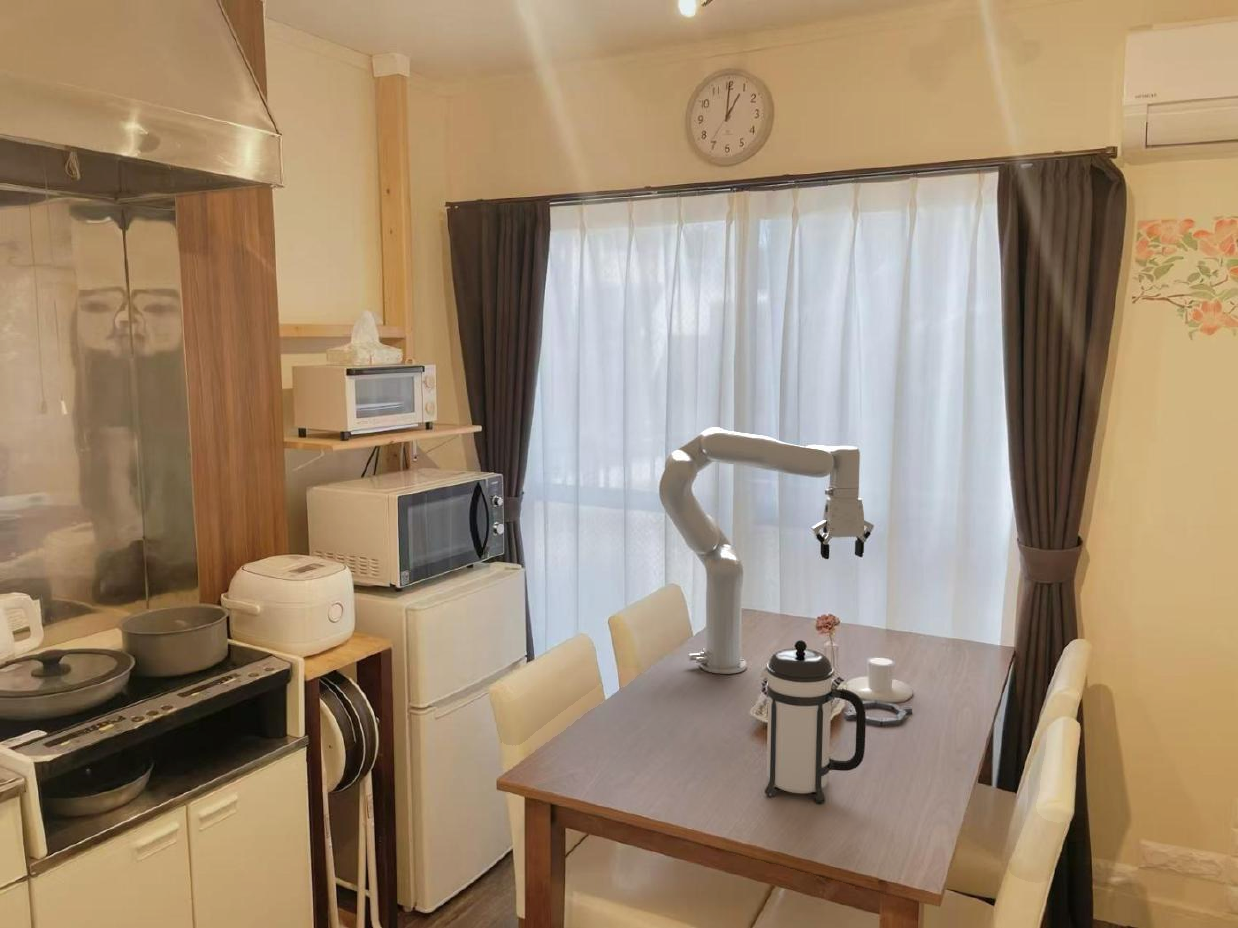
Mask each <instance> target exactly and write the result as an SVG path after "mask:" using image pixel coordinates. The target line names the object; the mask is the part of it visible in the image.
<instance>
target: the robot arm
mask: <svg viewBox="0 0 1238 928" xmlns="http://www.w3.org/2000/svg"><path fill="white" fill-rule="evenodd" d="M859 449H860V448H858V447H856V446H850V445H838V446H837V445H836V446H829V445H828V446H826V445H820V444H809V445H807V446H801V445H798V444H797V445H796V444H791V443H786V442H783V441H780V440H777V439H774V438H772V437H769V436H765V435H759V434H751V433H744V432H743V433H742V432H737V431H730V430H725V429H723V428H720V427H717V426H716V427H710V428H707V429H705V430H704V431H702V432H701V433H700V434H698V435H696V436H695V437H694V438H692V439H691V440H690V441H688V442H686V443H685V444H683V445H682V446H680V447H678V448H677V449H676V450H674V451H673V452H671V454H669V455H668V457H667V458H666V460H665V463H664V471H663V473H662V475H661V478H660V481H659V486H658V492H659V493H658V494H659V500H660V502H661V505H662V507H663V509H664V510H665V512H666V513H667V515H668V516H669V518H670V519H671V522H673V525H674V526H675V527H676V529H677V531H678V532H679V534H680V535H681V537H682V539H683V540H684V542H685V545H687V547H688V548H689V549H690V550H691V551H692V552H693V553H695V555H696V556H697V558H698V560H699V561H700V562H701V563H702V566H703V567H704V568H705V573H706V587H705V591H706V592H705V647H703V648H702V651H699V652H698V653H688V655H687V658H688V661H689V662H694V661H695V663H698V664H699V666H700V668H701V669H702V670H703V671H706V672H709V673H712V674H720V675H731V674H738V673H741V672H743V671H745V670H746V669H747V666H748V665H747V661H746V660H745V659H744V658H742V620H743V619H742V615H743V614H742V609H743V608H742V606H743V604H742V603H743V586H744V569H743V568H744V567H743V563H742V561H741V559H740V557H739V555H738V552H737V551H736V550H735V548H734V547H733V546H732V544H731V543H730V541H729V540H728V538H727V536H726V535H725V533H724V532H723V531H722V529H721V527H720V526H719V525H718V523H717V522H716V521H715V519H714V518H713V517H712V516H710V515H709V514H708V513H706V511H705V510H704V509H703V508H702V506H701V504H700V502H699V501H698V500H697V498H696V497H695V495H694V493H693V490H692V488H693V484H694V482H695V480H696V478H697V476H698V473H699V472H701V471H702V470H704V469H706V467H708V466H709V465H711V464H713V463H714V462H715V463H722V464H727V465H728V464H729V465H735V466H740V467H741V466H743V467H748V468H754V469H755V468H756V469H760V470H761V469H762V470H765V471H772V472H780V473H784V474H789V475H796V476H800V477H801V476H802V477H809V478H818V479H819V478H824V477H827V476H829V486H828V488H827V489H824V494H825V495H826V496H828V497H827V498H826V501H825V505H824V511H823V519H822V521H820V522H818V523H817V524H815V525H814V526H812V527H811V531H812V534H813V535H814V537H815V539H816V540H817V541H818V542H819V543H820V552H819V553H820V556H821V558H822V559H824V560H829V559H830V544H829V542H830V540H831V539H832V538H837V539H838V538H854V537H855V538H856V540H855V542H854V555H855V556H857V557H859V558H863V557H864V553H865V543H866V542H867V539H868V538H869V537H870V536H871V533H872V531H873V530H874V526H875V525H874V524H873V523H870V522H869V521H867V520H865V513H864V506H863V500H862V498H861V497H860V495H859V494H860V493H859V492H860V491H859V490H860V465H861V464H860V462H861V459H860V458H861V453H860V452H861V451H860V450H859ZM821 529H822V532H823V534H821V532H820V530H821Z"/></svg>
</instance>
